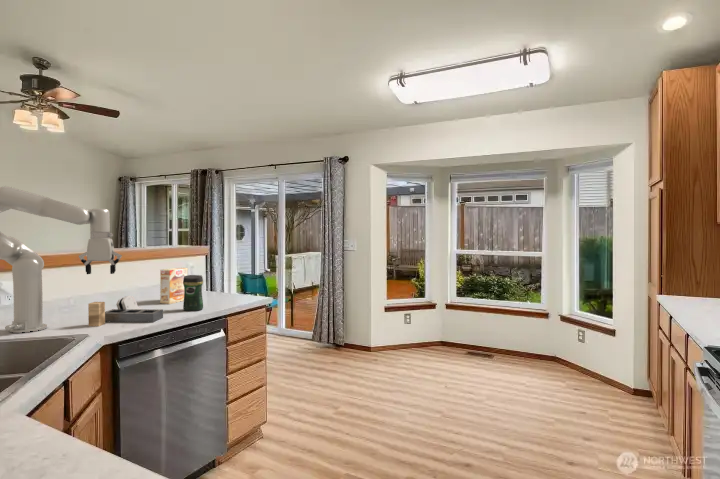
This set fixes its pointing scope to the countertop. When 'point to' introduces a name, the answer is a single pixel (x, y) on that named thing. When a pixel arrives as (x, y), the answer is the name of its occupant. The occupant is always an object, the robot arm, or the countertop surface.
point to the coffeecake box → (172, 285)
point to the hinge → (127, 303)
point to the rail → (133, 315)
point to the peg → (96, 313)
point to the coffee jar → (193, 293)
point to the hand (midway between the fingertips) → (100, 273)
